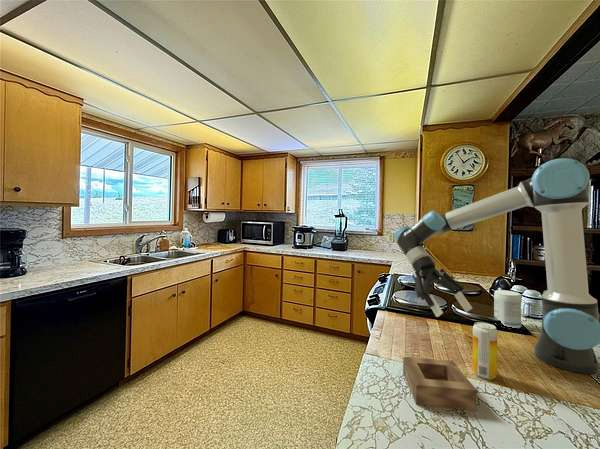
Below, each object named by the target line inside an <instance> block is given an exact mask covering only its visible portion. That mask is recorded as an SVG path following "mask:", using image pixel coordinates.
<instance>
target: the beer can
mask: <svg viewBox="0 0 600 449" xmlns="http://www.w3.org/2000/svg"><path fill="white" fill-rule="evenodd" d="M471 353H472V357H471V370H472V372H473V373H474V375H476V376H477V377H479V378H480V379H482V380H483V379H484V380H487V381H488V380H489V381H491V380H494V379H495V378H497V372H498V370H497V368H498V362H497V361H498V330H497V327H496V326H495V325H494V324H491V323H488V322H481V321H477V322H474V325H473V326H472V352H471Z"/></svg>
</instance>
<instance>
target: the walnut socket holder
mask: <svg viewBox="0 0 600 449" xmlns="http://www.w3.org/2000/svg"><path fill="white" fill-rule="evenodd" d="M402 358H403V362H402V364H403V365H402V367H403V368H402V373H403V376H404V379H405V381H406V383H407V386H408V388H409V390H410V394H411V396H412V398H413V400H414V403H415V405H419V406H425V407H426V406H429V407H438V408H448V409H456V410H467V411H474V412H475V411H476V412H477V411H478V410H477V408H478V407H477V402H478V401H477V398H478V391H477V390H478V389H477V388H476V387H475V386H474V385H473V383H471V381H470V380H469V378H468V377H467V376H466V375H465V374H464V372H463V371H462V370H461V369H460V368H459V367H458V365H457V364H456V362H454V360H449V359H438V358H437V359H436V358H435V359H434V358H422V357H413V356H412V357H410V356H403V357H402Z"/></svg>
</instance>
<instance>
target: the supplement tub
mask: <svg viewBox="0 0 600 449" xmlns="http://www.w3.org/2000/svg"><path fill="white" fill-rule="evenodd" d="M521 295H522V294H521V293H519V292H517V291H513V290H512V291H511V290H504V289H496V290H494V293H493V300H494V301H493V311H494V312H493V317H495V318H497V319H498V320H500V321H501V323H502V324H503V325H504V326H507V327H512V328H517V329H520V328H521V327H522V297H521Z"/></svg>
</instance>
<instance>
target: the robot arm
mask: <svg viewBox="0 0 600 449" xmlns="http://www.w3.org/2000/svg"><path fill="white" fill-rule="evenodd" d="M590 177H591V174H590V172H589V169H588V168H587V167H586V166H585V165H584V164H583V163H582V162H580V161H579V160H576V159H572V158H566V157H565V158H555V159H552V160H549V161H547V162H544V163H543V164H541V165H540V166H538V167H537V169H535V171H534V172H533V174H532V176H531V177H530V178H528V179H526V180H522V181H520V182H519V184H518V185H517V186H516V187H515V186H514V187H512V188H510V189H507V190H505V191H502V192H499V193H496V194H494V195H491V196H488V197H485V198H482V199H480V200H478V201H474V202H472V203H469V204H467V205H463V206H461V207H458V208H456V209H453V210H450V211H447V212H445V213H442V214H439V212H437V211H435V210H431V211H429V212H428V213H426V214H424V215H423V216H422V217H421V218H420V219H419V220H417V221H416V222H415V223H413V225H411V226H410V227H409V226H406V225H405V226H401V227H399V228H398V229H397V230H395V232H394V234H393V237H394V240H395V242H396V243H397V246H399V248H400V249H401V251H402V253H403V254H404V256H405V257H406V259H407V260H408V262H409V263H410V265H411V267H412V269H413V271H414V272H413V273H412V277H413V280H414V285H415V292H416V296H417V297H418V299H419V298H420V299H421V300H423V301H424V300H425V302H426V304H427V306H428V307H430V308H431V310H432V312H433V313H434V316H435V317H436V318H439V317H440V316H441V315H443V314H444V312H443V310H442V308H441V307H440V305H439V304H438V302H437V301H436V299H435V297H434V295H433V294H430V291H431V290H430V289H431V284H437V285H441V286H442V287H444V289H445V288H446V289H447V290H448V291H450V292H451V293H452V294H454V297H455V299H456V300H457V302H458V303H459V305H460V306H461V308H462V309H463V310H464V312H465V313H468V312H469V311H471V310H472V309H473V307H472V305H471V304H470V302H469V301H468V300H467V297H466V296H465V294H464V293H463V291H464V290H465V287H463V285H462V284H460V282H458V281H456V280H455V279H454V278H453V277H452V276H450V275H449V274H448V273H447V272H446V270H444V268H441V269H440V270H438V269H437V268H436V263H435V261H434V260H433V259H432V257H431V256H430V254H429V253H428V251H427V250H426V248H425V247H424V246H423V245H422V244H423V243H424V242H426V241H427V240H428V239H430V238H431V237H433V236H436V235H438V236H439V235H443V234H445V233H447V232H450V231H453V230H456V229H460V228H462V227H466V226H469V225H471V224H475V223H478V222H481V221H484V220H488V219H491V218H494V217H496V216H499V215H503V214H506V213H509V212H512V211H516V210H518V209H522V208H525V207H531V208H535V210H537V211H539V212H540V213H541V223H542V234H543V236H542V238H543V249H544V263H545V271H546V272H545V273H546V285H547V288H546V289H547V290H544V291H543V292H542V294H541V306H542V308H541V309H542V311H541V316H542V317H541V333H540V335H539V338H538V340H537V342H536V344H535V345H534V356H535V357H536V358H537V359H538V360H540V361H543V362H544V363H547V364H549V365H551V366H553V367H556V368H559V369H562V370H565V371H569V372H573V373H578V374H579V373H580V374H588V375H589V374H590V375H591V374H596V373H598V372H599V369H600V368H599V361H598V358H597V355H596V353H595V351H594V348H595V347H596V346H598V345H600V317H599V306H598V305H599V304H598V299H597V298H595V297H593V296H592V295H591V294H590V293H589V281H588V271H587V270H588V269H587V258H586V256H587V255H586V245H585V234H584V223H583V222H584V220H583V209H584V208H585V207H587V205H589V203H590V202H589V201H590V200H589V188H588V184H589V182H590V179H591V178H590Z"/></svg>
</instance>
